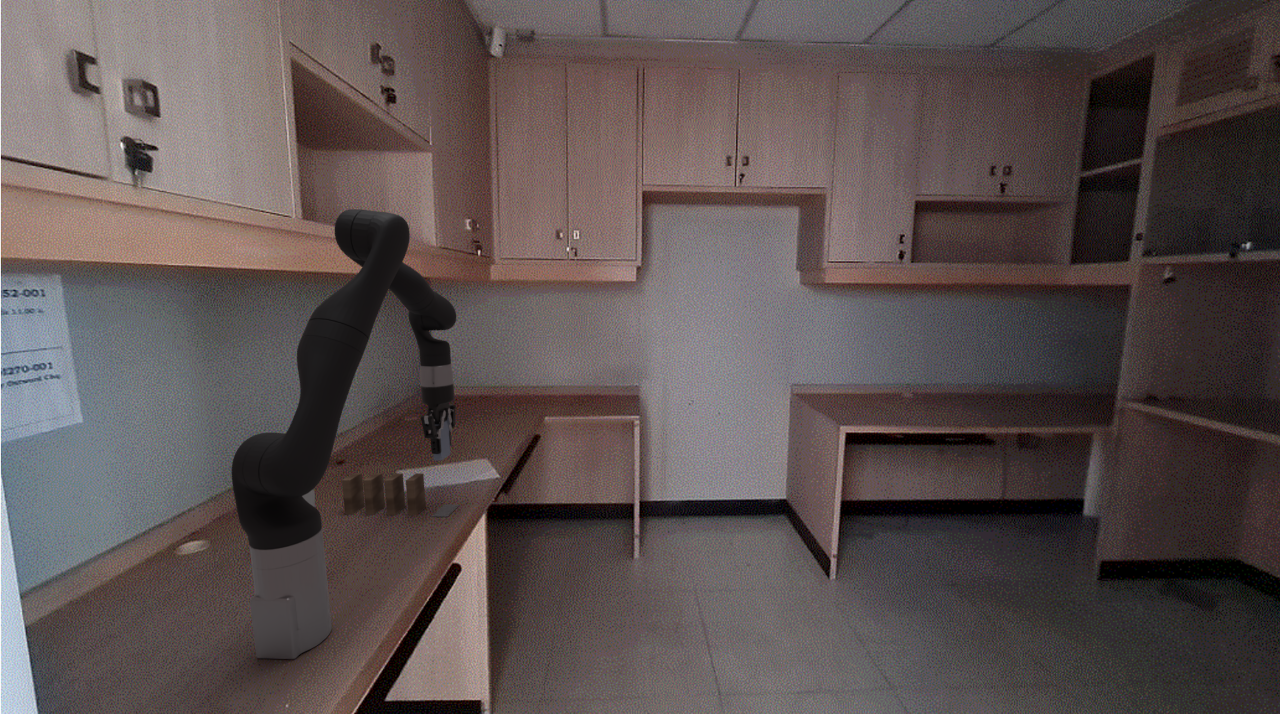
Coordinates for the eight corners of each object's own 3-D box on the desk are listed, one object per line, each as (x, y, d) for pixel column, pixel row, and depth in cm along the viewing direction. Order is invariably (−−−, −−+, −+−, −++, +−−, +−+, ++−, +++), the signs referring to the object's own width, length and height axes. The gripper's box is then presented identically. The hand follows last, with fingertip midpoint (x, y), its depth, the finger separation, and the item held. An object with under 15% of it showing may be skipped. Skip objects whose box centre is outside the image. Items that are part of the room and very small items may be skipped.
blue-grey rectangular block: (441, 460, 122) (439, 424, 121) (433, 460, 122) (431, 424, 121) (450, 454, 127) (448, 419, 126) (443, 454, 127) (440, 419, 126)
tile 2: (416, 515, 124) (413, 480, 123) (408, 515, 125) (405, 480, 124) (425, 506, 129) (423, 473, 128) (418, 506, 130) (415, 473, 129)
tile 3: (394, 515, 125) (392, 480, 124) (387, 514, 125) (384, 480, 124) (405, 506, 130) (402, 473, 129) (398, 506, 130) (395, 473, 129)
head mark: (447, 517, 123) (447, 516, 123) (431, 516, 123) (431, 516, 123) (459, 505, 130) (459, 504, 130) (444, 505, 130) (444, 504, 130)
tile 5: (352, 514, 126) (349, 480, 124) (345, 514, 126) (341, 480, 125) (364, 506, 130) (361, 473, 129) (357, 506, 131) (354, 473, 130)
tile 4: (373, 514, 125) (370, 480, 124) (366, 514, 125) (363, 480, 124) (385, 506, 130) (382, 473, 129) (377, 506, 130) (374, 473, 129)
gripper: (438, 388, 115) (443, 459, 117) (464, 378, 130) (468, 441, 132) (407, 388, 116) (412, 459, 118) (436, 378, 130) (440, 441, 132)
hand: (441, 449), depth 125 cm, fingers closed on blue-grey rectangular block, 5 cm apart
